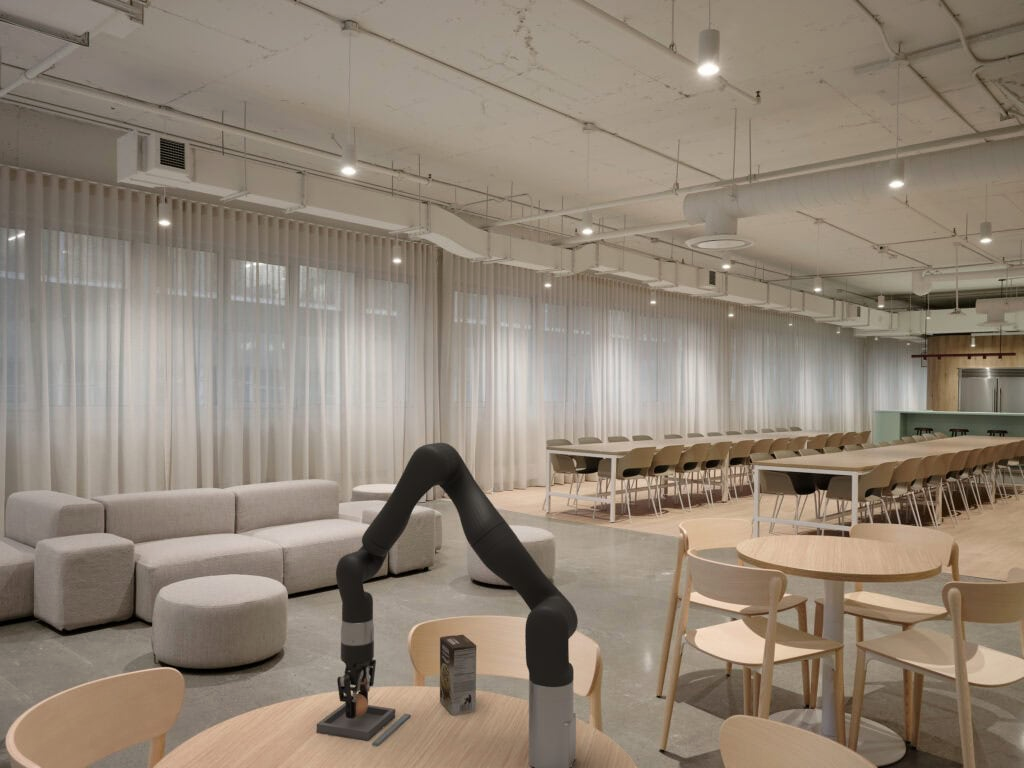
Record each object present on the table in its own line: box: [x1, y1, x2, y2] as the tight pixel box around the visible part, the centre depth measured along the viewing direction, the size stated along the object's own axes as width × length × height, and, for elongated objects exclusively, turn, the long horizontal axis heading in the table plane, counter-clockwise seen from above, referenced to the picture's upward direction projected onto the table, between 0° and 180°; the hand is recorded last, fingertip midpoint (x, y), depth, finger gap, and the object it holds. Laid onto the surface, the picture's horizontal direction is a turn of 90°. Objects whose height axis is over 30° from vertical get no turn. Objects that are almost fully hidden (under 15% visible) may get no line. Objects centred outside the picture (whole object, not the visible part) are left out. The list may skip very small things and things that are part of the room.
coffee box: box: [439, 634, 477, 716], centre depth 188 cm, size 9×6×16 cm
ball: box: [355, 693, 369, 718], centre depth 177 cm, size 5×5×5 cm
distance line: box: [371, 713, 411, 747], centre depth 174 cm, size 2×16×1 cm, turn 162°
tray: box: [316, 702, 396, 742], centre depth 177 cm, size 13×13×2 cm
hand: (356, 712), depth 177 cm, fingers closed on ball, 5 cm apart
